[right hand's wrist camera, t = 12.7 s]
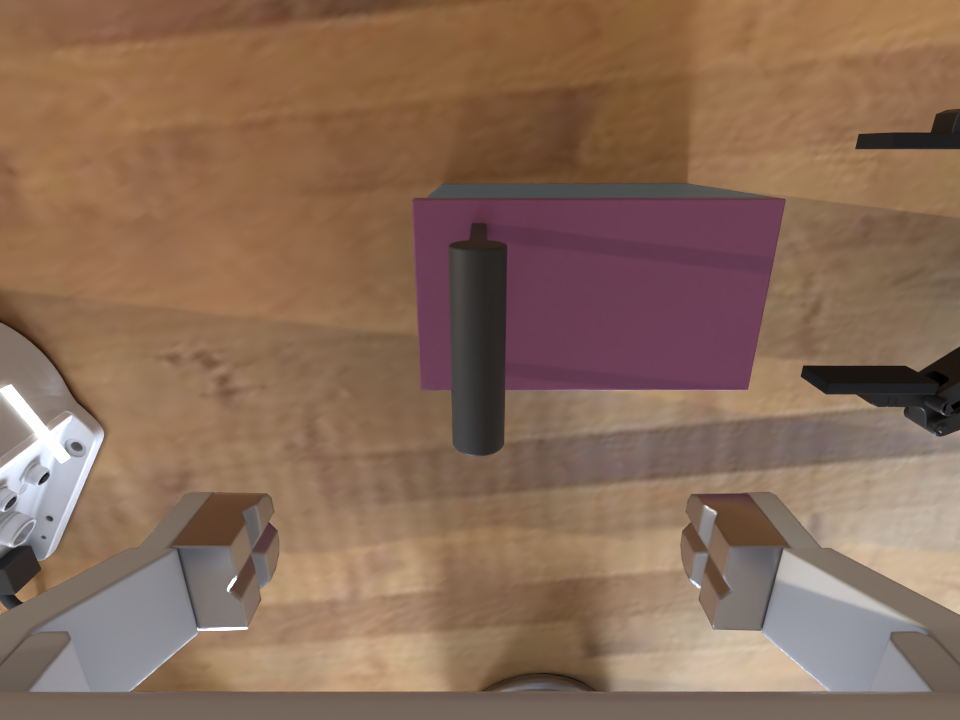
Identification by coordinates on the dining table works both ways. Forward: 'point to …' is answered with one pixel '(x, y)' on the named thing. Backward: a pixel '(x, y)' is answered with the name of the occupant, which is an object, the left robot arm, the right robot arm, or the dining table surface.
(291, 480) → the dining table surface
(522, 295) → the lid
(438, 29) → the dining table surface
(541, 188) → the chest
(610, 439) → the dining table surface
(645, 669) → the dining table surface
